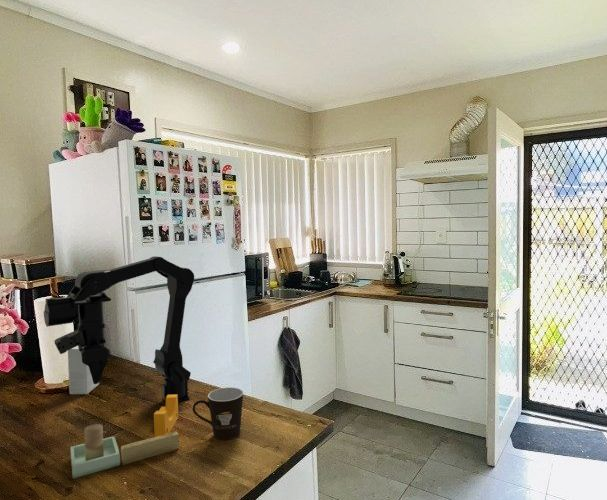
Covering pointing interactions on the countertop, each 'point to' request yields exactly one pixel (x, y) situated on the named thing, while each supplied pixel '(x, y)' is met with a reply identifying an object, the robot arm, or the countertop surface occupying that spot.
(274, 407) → the countertop surface
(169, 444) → the bar
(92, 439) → the oak dowel
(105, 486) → the countertop surface
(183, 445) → the countertop surface
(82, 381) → the skincare box
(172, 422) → the pipe clamp
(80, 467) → the tray
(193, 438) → the countertop surface
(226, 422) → the coffee mug
